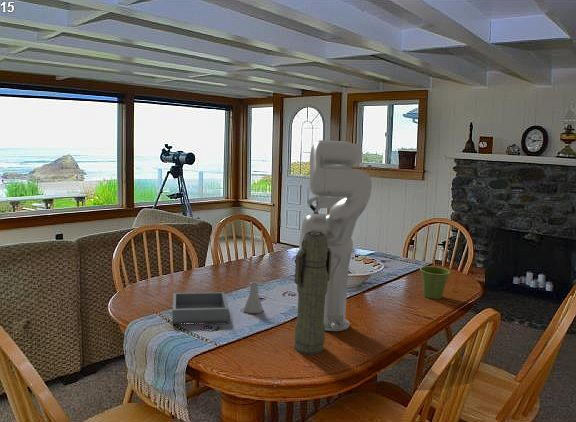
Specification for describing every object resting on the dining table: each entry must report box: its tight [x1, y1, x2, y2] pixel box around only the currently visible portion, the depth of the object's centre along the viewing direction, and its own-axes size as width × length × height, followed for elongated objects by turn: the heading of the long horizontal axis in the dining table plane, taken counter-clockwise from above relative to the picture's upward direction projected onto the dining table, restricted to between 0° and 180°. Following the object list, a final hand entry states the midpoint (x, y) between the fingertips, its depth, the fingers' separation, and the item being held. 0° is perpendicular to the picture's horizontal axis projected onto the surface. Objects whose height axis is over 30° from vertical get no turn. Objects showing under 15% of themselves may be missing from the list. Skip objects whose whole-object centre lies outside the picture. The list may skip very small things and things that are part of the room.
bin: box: [171, 291, 230, 325], centre depth 179 cm, size 18×18×5 cm
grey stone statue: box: [293, 232, 331, 355], centre depth 153 cm, size 9×12×35 cm
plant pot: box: [419, 265, 451, 300], centre depth 211 cm, size 12×12×11 cm
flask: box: [243, 281, 264, 314], centre depth 185 cm, size 7×7×10 cm
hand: (329, 223), depth 194 cm, fingers open, 9 cm apart
